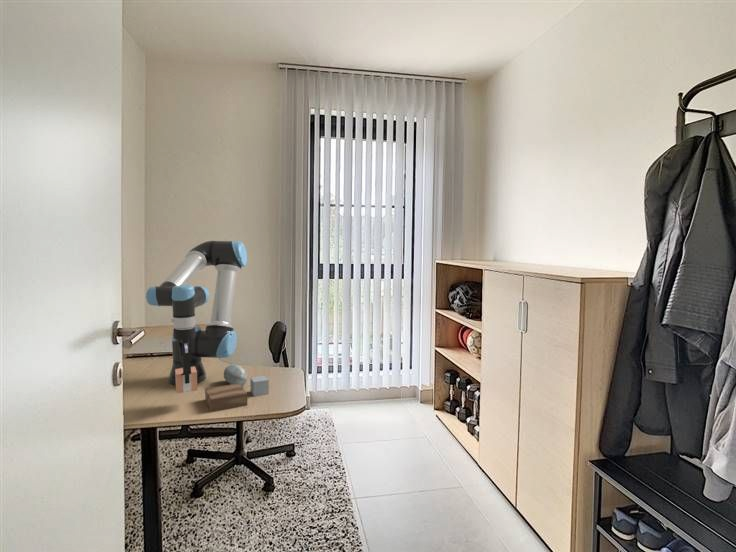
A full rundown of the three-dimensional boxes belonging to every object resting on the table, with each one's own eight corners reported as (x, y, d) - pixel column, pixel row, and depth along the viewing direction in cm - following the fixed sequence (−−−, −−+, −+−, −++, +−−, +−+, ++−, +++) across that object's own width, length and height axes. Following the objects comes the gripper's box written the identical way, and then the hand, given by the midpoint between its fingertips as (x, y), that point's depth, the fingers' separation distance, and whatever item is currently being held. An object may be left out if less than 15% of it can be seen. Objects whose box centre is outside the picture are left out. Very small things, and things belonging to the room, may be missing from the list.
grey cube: (250, 391, 177) (250, 377, 176) (265, 389, 179) (264, 375, 179) (253, 396, 171) (253, 382, 171) (268, 394, 174) (268, 379, 174)
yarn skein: (216, 374, 188) (228, 355, 187) (236, 380, 193) (247, 361, 192) (221, 391, 176) (234, 371, 176) (242, 397, 181) (254, 377, 181)
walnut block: (205, 400, 167) (205, 388, 167) (239, 395, 174) (238, 383, 173) (211, 412, 156) (211, 399, 155) (247, 406, 162) (247, 393, 162)
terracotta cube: (175, 386, 161) (175, 368, 161) (195, 384, 165) (195, 366, 164) (176, 393, 155) (176, 374, 154) (197, 390, 158) (196, 371, 158)
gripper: (171, 322, 164) (173, 380, 167) (174, 334, 147) (177, 398, 149) (192, 321, 168) (194, 377, 170) (198, 332, 150) (200, 395, 153)
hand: (186, 387), depth 160 cm, fingers closed on terracotta cube, 7 cm apart
